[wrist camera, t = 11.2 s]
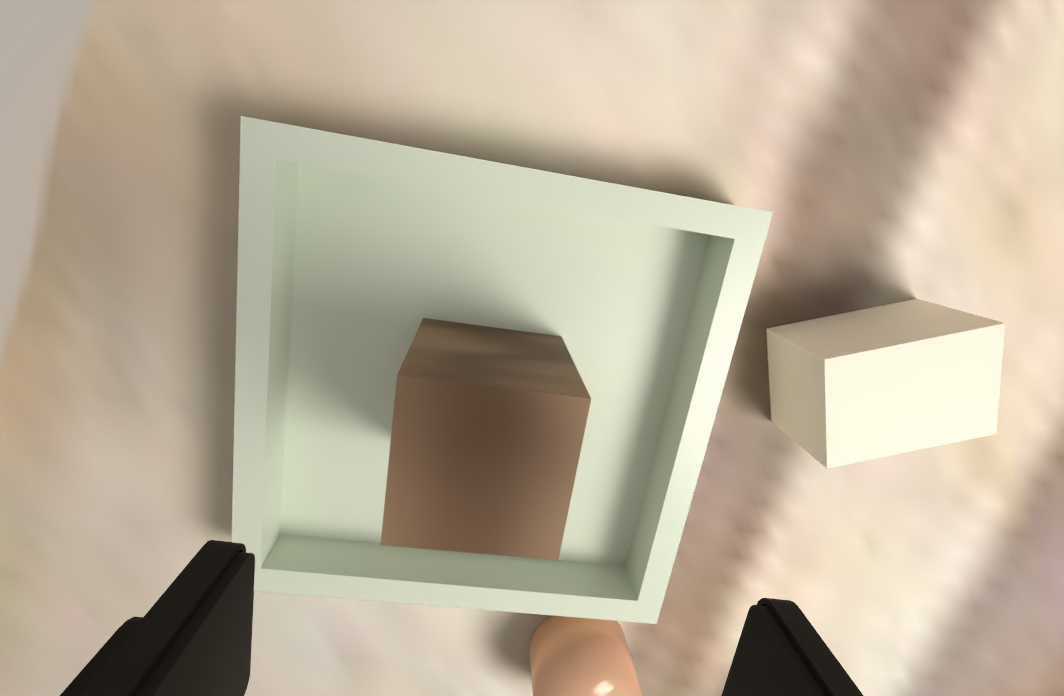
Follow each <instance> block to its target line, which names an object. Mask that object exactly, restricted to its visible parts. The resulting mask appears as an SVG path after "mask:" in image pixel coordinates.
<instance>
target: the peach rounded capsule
mask: <svg viewBox="0 0 1064 696" xmlns="http://www.w3.org/2000/svg"><path fill="white" fill-rule="evenodd" d="M529 655H530V666H531V677H532V688H533V696H642V693H641V689H640V686H639V682H638V679H637V676H636V673H635V669H634V666H633V663H632V659H631V656H630V653H629V650H628V646H627V643H626V640H625V636H624V633H623V630H622V628H621V626H620V625H619V623H618V622H617V621H615V620H603V619H591V618H578V617H566V616H553V615H552V616H550V617H548V618H547V619H546V620H544V621H543V622H542V623H541V624H540V625H539V626H538V628H537V629H536V630H535V632H534V634H533V636H532V638H531V641H530V646H529Z"/></svg>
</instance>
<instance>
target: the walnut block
mask: <svg viewBox="0 0 1064 696" xmlns="http://www.w3.org/2000/svg"><path fill="white" fill-rule="evenodd" d="M590 403H591V397H590V395H589V393H588V391H587V389H586V387H585V385H584V382H583V380H582V378H581V376H580V374H579V372H578V370H577V368H576V366H575V364H574V361H573V359H572V357H571V355H570V353H569V351H568V349H567V347H566V345H565V343H564V340H563V338H562V336H554V335H547V334H540V333H532V332H525V331H517V330H510V329H502V328H495V327H488V326H480V325H473V324H465V323H458V322H451V321H443V320H436V319H428V318H423V320H422V322H421V324H420V326H419V328H418V330H417V333H416V335H415V337H414V339H413V341H412V343H411V346H410V348H409V350H408V352H407V354H406V357H405V359H404V361H403V363H402V365H401V367H400V370H399V372H398V374H397V380H396V390H395V401H394V411H393V421H392V432H391V442H390V452H389V462H388V473H387V483H386V493H385V504H384V514H383V524H382V534H381V545H385V546H397V547H409V548H421V549H432V550H444V551H456V552H468V553H479V554H491V555H503V556H515V557H526V558H538V559H550V560H559V555H560V550H561V545H562V540H563V535H564V530H565V525H566V521H567V516H568V511H569V506H570V501H571V496H572V491H573V486H574V481H575V476H576V471H577V467H578V462H579V457H580V452H581V447H582V442H583V437H584V432H585V427H586V422H587V417H588V413H589V408H590Z"/></svg>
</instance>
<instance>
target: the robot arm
mask: <svg viewBox="0 0 1064 696" xmlns="http://www.w3.org/2000/svg"><path fill="white" fill-rule="evenodd" d="M254 574H255V555H254V554H253V553H246V547H245V545H244V544H243V543H234V542H224V541H215V540H210V541H208V542H207V543H206V544H205V545H204V546H203V547H202V548H201V549H200V551H199V552H198V553H197V554H196V555H195V557H194V558H193V559H192V560H191V561H190V562H189V564H188V565H187V566H186V567H185V568H184V570H183V571H182V572H181V573H180V574H179V576H178V577H177V578H176V579H175V580H174V582H173V583H172V584H171V585H170V586H169V588H168V589H167V590H166V591H165V592H164V593H163V595H162V596H161V597H160V598H159V599H158V601H157V602H156V603H155V604H154V605H153V607H152V608H151V609H150V610H149V611H148V613H147V614H146V615H145V616H144V617H143V618H142V617H133V618H131V619H129V620H127V621H126V622H125V623H124V624H123V625H122V626H121V627H120V628H119V629H118V630H117V631H116V632H115V633H114V634H113V635H112V637H111V638H110V639H109V640H108V641H107V642H106V643H105V645H104V646H103V647H102V648H101V649H100V650H99V651H98V653H97V654H96V655H95V656H94V657H93V658H92V659H91V661H90V662H89V663H88V664H87V665H86V666H85V667H84V669H83V670H82V671H81V672H80V673H79V674H78V676H77V677H76V678H75V679H74V680H73V681H72V682H71V684H70V685H69V686H68V687H67V688H66V689H65V690H64V692H63V693H62V694H61V695H60V696H244V694H245V692H246V689H247V685H248V681H249V676H250V661H251V639H252V618H253V596H254ZM722 696H863V695H862V693H861V692H860V690H859V689H858V688H857V686H856V685H855V684H854V682H853V681H852V679H851V678H850V677H849V675H848V674H847V673H846V671H845V670H844V669H843V667H842V666H841V664H840V663H839V662H838V660H837V659H836V658H835V656H834V655H833V654H832V652H831V651H830V649H829V648H828V647H827V645H826V644H825V643H824V641H823V640H822V639H821V637H820V636H819V634H818V633H817V632H816V630H815V629H814V628H813V626H812V625H811V623H810V622H809V621H808V619H807V618H806V617H805V615H804V614H803V613H802V611H801V610H800V608H799V607H798V606H797V605H796V604H795V603H794V602H792V601H789V600H779V599H770V598H762V599H760V600H759V601H758V603H757V605H752V606H751V607H750V609H749V611H748V614H747V618H746V621H745V624H744V627H743V630H742V633H741V636H740V640H739V643H738V646H737V649H736V652H735V655H734V658H733V662H732V665H731V668H730V671H729V674H728V677H727V680H726V684H725V687H724V690H723V693H722Z"/></svg>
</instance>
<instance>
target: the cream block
mask: <svg viewBox="0 0 1064 696" xmlns="http://www.w3.org/2000/svg"><path fill="white" fill-rule="evenodd" d="M766 331H767V350H768V368H769V386H770V404H771V421H772V422H773V423H774V424H775V425H776V426H777V427H779V428H780V429H781V430H782V431H783V432H784V433H786V434H787V435H788V436H789V437H790V438H792V439H793V440H794V441H795V442H796V443H797V444H799V445H800V446H801V447H802V448H803V449H805V450H806V451H807V452H808V453H809V454H810V455H812V456H813V457H814V458H815V459H816V460H818V461H819V462H820V463H821V464H822V465H823V466H825V467H826V468H832V467H837V466H842V465H847V464H852V463H857V462H862V461H866V460H871V459H876V458H881V457H886V456H891V455H896V454H901V453H905V452H910V451H915V450H920V449H925V448H930V447H935V446H940V445H944V444H949V443H954V442H959V441H964V440H969V439H974V438H979V437H983V436H988V435H993V434H996V431H997V418H998V406H999V393H1000V381H1001V368H1002V356H1003V344H1004V331H1005V323H1002V322H999V321H995V320H991V319H988V318H984V317H981V316H977V315H973V314H970V313H966V312H962V311H959V310H955V309H952V308H948V307H944V306H941V305H937V304H933V303H930V302H926V301H923V300H919V299H913V300H908V301H903V302H898V303H893V304H888V305H882V306H877V307H872V308H867V309H862V310H857V311H852V312H847V313H842V314H837V315H832V316H827V317H822V318H817V319H812V320H807V321H802V322H797V323H792V324H787V325H782V326H777V327H772V328H767V329H766Z"/></svg>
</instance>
